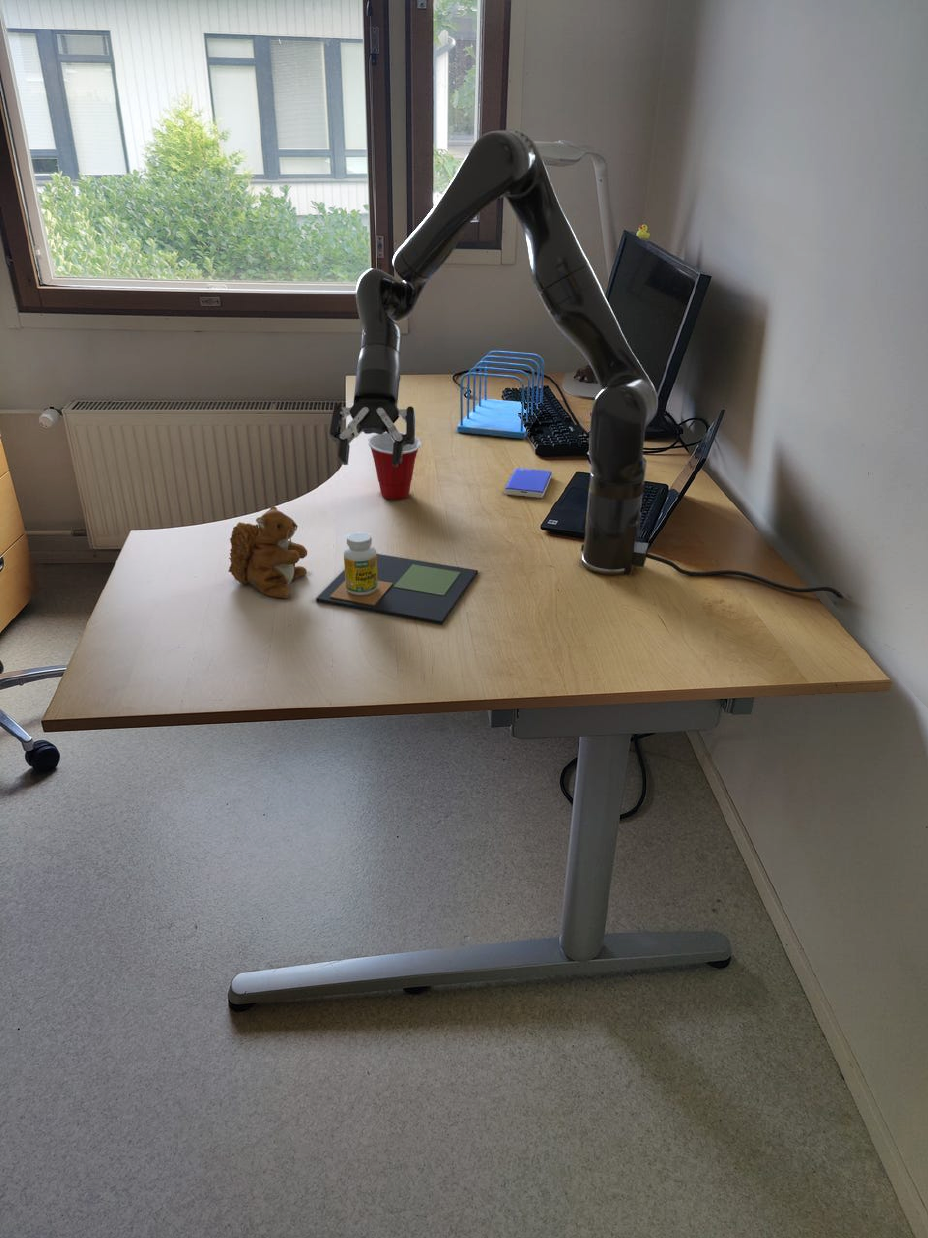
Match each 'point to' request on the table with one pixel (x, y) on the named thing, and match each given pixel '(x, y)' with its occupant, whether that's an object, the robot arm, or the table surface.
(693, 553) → the table surface
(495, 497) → the table surface
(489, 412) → the file sorter
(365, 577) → the supplement bottle
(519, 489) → the hard drive
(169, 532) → the table surface
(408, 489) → the plastic cup
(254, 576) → the stuffed squirrel
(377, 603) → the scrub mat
